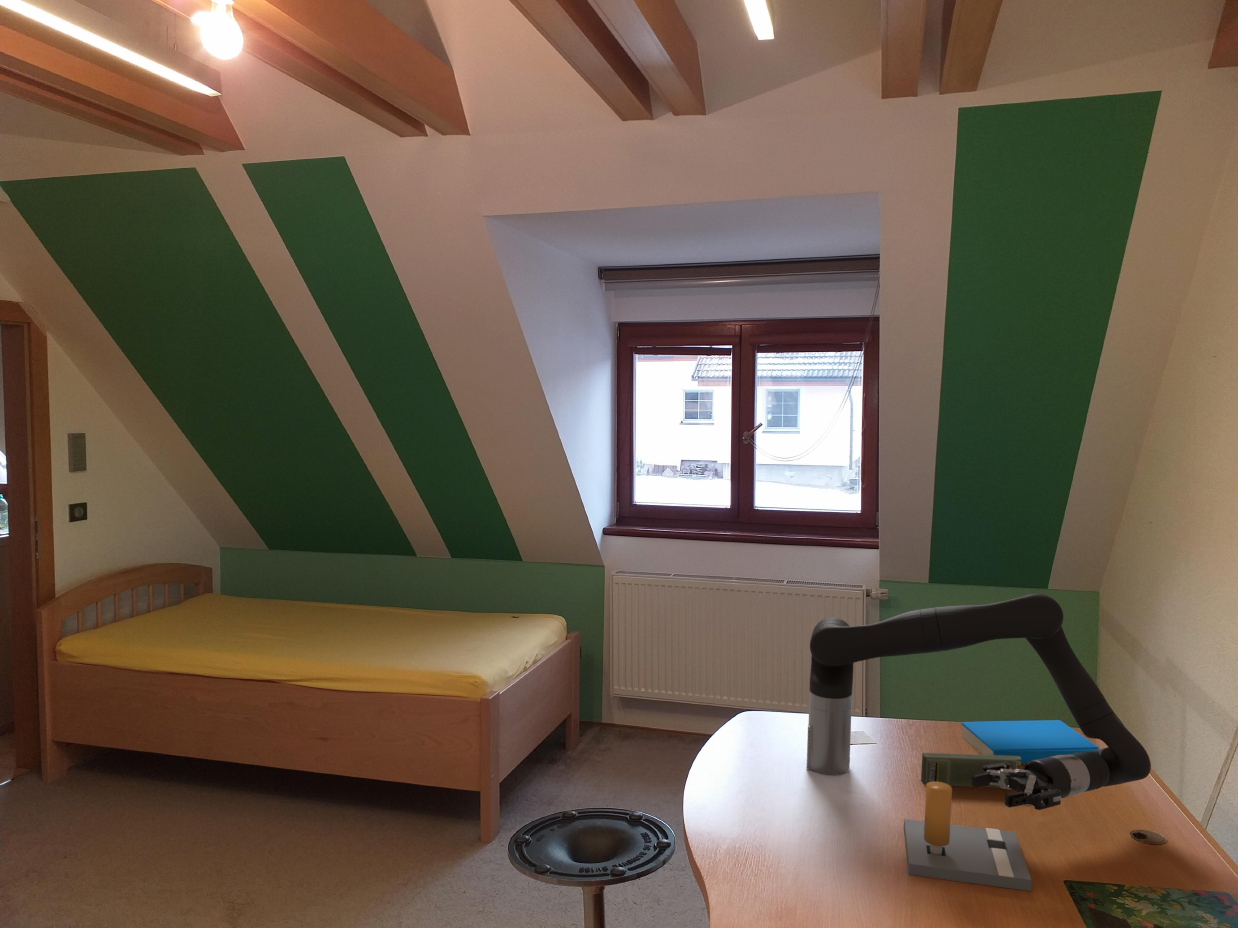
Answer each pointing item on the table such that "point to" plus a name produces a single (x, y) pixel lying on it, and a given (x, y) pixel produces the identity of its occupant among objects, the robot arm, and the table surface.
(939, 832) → the orange and grey cylinder
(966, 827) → the board
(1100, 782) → the robot arm
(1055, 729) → the book
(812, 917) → the table surface
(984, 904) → the table surface
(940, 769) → the handheld radio
